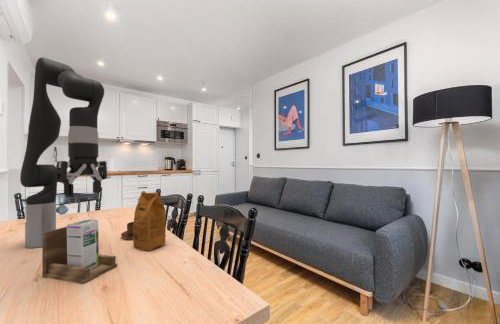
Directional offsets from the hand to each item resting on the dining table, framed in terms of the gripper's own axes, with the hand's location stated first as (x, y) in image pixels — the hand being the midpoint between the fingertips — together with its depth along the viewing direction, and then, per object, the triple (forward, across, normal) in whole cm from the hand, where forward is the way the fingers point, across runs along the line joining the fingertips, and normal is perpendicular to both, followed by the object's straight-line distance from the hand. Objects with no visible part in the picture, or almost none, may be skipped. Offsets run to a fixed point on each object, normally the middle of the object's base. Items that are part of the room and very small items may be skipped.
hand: (83, 194), depth 70 cm
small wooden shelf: (+24, 0, -1) cm, 24 cm away
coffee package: (+24, -24, +4) cm, 34 cm away
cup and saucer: (+24, -33, -10) cm, 42 cm away
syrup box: (+23, 0, 0) cm, 23 cm away
